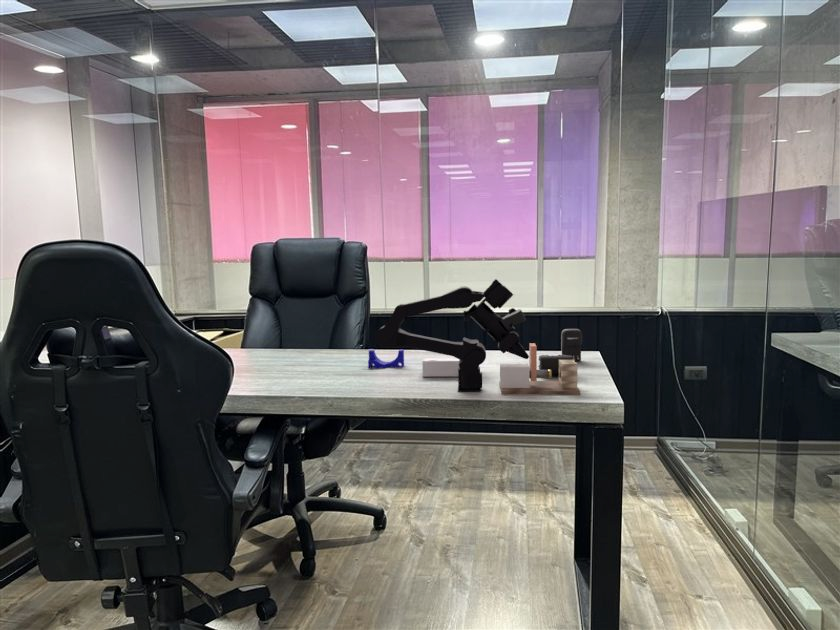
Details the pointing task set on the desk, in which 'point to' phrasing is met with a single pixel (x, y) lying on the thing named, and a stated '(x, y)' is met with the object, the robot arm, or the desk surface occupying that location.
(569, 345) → the battery charger
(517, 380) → the white rectangular block
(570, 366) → the socket block
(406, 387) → the desk surface
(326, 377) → the desk surface
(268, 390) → the desk surface
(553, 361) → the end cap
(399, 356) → the cable clip
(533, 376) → the brushed copper slab
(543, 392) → the base board
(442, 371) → the white box
